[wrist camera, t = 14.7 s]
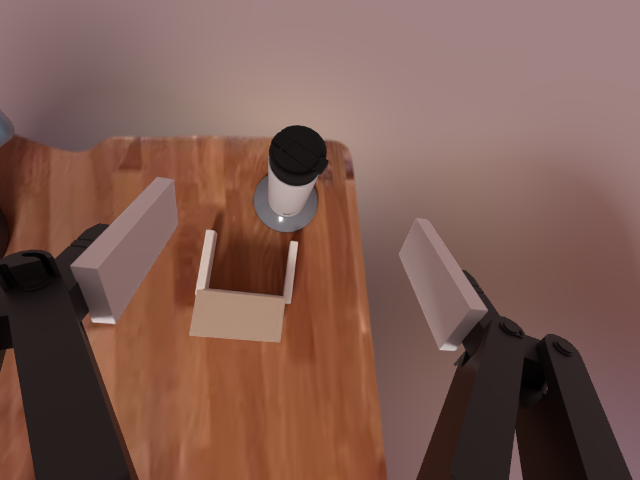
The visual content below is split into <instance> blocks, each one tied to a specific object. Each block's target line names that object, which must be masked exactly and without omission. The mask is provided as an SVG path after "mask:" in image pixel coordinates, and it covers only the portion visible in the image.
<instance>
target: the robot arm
mask: <svg viewBox="0 0 640 480" xmlns="http://www.w3.org/2000/svg"><path fill="white" fill-rule="evenodd" d="M13 136H14V126H13V124H12V123H11V121H10V120H9V119H8V118H7V117H6V115H5V114H4V113H3V112H2V111H0V147H1V146H3V145H4V144H5V143H7V142H8V141H9V140H10V139H12V137H13ZM177 226H178V217H177V207H176V197H175V187H174V179H168V178H161V177H157V178H156V179H155V180H154V181H153V182H152V183H151V184H150V185H149V186H148V187H147V188H146V189H145V190H144V191H143V192H142V193H141V194H140V195H139V196H138V197H137V198H136V199H135V200H134V201H133V202H132V203H131V204H130V205H129V206H128V207H127V208H126V209H125V210H124V211H123V212H122V213H121V214H120V216H119V217H118V218H117V219H116V220H115V221H114V222H113V223H112V224H111V225H108V224H100V223H99V224H97V225H95V226H93V227H91V228H89V229H87V230H85V231H84V232H83V233H82V234H81V235H80V236H79V237H78V239H77V240H75V241H74V242H73V243H71V244H70V246H68V247H67V248H66V249H65V250H64V251H63V252H62V253H61V254H60V255H59V256H57V257H56V258H55V259H54V258H53V256H52V255H51V254H50V253H49V252H46V251H43V250H27V251H21V252H17V253H14V254H11V255H8V256H6V257H4V258H3V259H2V257H3V255H4V253H5V250H6V247H7V243H8V226H7V222H6V219H5V217H4V215H3V213H2V212H1V210H0V371H1V367H2V363H3V360H4V356H5V352H6V349H10V348H14V353H15V359H16V365H17V371H18V377H19V382H20V388H21V394H22V400H23V406H24V412H25V418H26V424H27V430H28V436H29V442H30V448H31V454H32V460H33V465H34V471H35V477H36V480H139V479H138V476H137V474H136V471H135V468H134V465H133V463H132V460H131V457H130V454H129V451H128V449H127V446H126V443H125V440H124V437H123V435H122V432H121V429H120V426H119V423H118V421H117V418H116V415H115V412H114V410H113V407H112V404H111V401H110V398H109V396H108V393H107V390H106V387H105V384H104V382H103V379H102V376H101V373H100V370H99V368H98V365H97V362H96V359H95V356H94V354H93V351H92V348H91V345H90V343H89V340H88V337H87V334H86V331H85V329H84V326H83V324H82V320H83V318H84V317H85V316H86V314H87V313H88V312H89V314H90V317H91V319H92V322H99V323H111V324H116V322H117V321H118V319H119V318H120V316H121V314H122V313H123V311H124V310H125V308H126V307H127V305H128V303H129V302H130V300H131V299H132V297H133V296H134V294H135V292H136V291H137V289H138V288H139V286H140V284H141V283H142V281H143V280H144V278H145V277H146V275H147V273H148V272H149V270H150V269H151V267H152V266H153V264H154V262H155V261H156V259H157V258H158V256H159V254H160V253H161V251H162V250H163V248H164V247H165V245H166V243H167V242H168V240H169V239H170V237H171V236H172V234H173V232H174V231H175V229H176V228H177ZM399 256H400V259H401V261H402V263H403V265H404V268H405V270H406V273H407V275H408V277H409V280H410V282H411V284H412V287H413V289H414V291H415V294H416V296H417V298H418V301H419V303H420V305H421V308H422V310H423V312H424V315H425V317H426V319H427V322H428V324H429V326H430V329H431V331H432V334H433V336H434V338H435V341H436V343H437V345H438V348H439V349H440V350H451V351H455V350H456V349H457V348H458V346H459V345H460V344H461V343H462V344H463V346H464V348H465V349H466V350H465V352H464V353H463V354H462V355H461V357H459V359H458V360H457V361H456V362H455V363H454V365H455V366H456V365H457V364H458V367H457V369H456V372H455V375H454V378H453V380H452V383H451V386H450V389H449V391H448V394H447V397H446V399H445V402H444V405H443V408H442V410H441V413H440V416H439V419H438V421H437V424H436V427H435V430H434V432H433V435H432V438H431V441H430V443H429V446H428V449H427V452H426V454H425V457H424V460H423V463H422V465H421V468H420V471H419V473H418V476H417V479H416V480H509V474H510V465H511V458H512V449H513V441H514V433H515V430H516V436H517V443H518V450H519V456H520V463H521V470H522V476H523V480H632V477H631V475H630V472H629V470H628V468H627V466H626V463H625V460H624V458H623V456H622V453H621V451H620V449H619V446H618V444H617V441H616V439H615V437H614V434H613V432H612V429H611V427H610V424H609V422H608V420H607V417H606V415H605V412H604V410H603V408H602V405H601V403H600V400H599V398H598V396H597V393H596V391H595V388H594V386H593V384H592V382H591V379H590V376H589V374H588V372H587V369H586V367H585V364H584V362H583V360H582V357H581V355H580V354H579V352H578V350H577V349H576V348H575V347H574V346H573V345H572V344H571V343H570V342H568V341H567V340H565V339H563V338H561V337H560V336H557V335H554V334H547V335H546V336H545V337H544V338H543V339H542V340H538V339H536V338H533V337H530V336H527V335H525V333H524V332H523V330H522V329H521V328H520V327H519V326H518V325H517V324H516V323H515V322H513V321H512V320H510V319H508V318H506V317H502V316H500V315H499V314H498V312H497V311H496V309H495V308H494V307H493V305H492V304H491V302H490V301H489V299H488V298H487V296H486V295H485V294H484V292H483V291H482V289H481V288H480V287H479V285H478V283H477V282H476V280H475V279H474V278H473V277H472V276H471V275H470V274H469V273H468V272H467V271H465V270H461V269H460V267H459V266H458V264H457V262H456V261H455V259H454V258H453V256H452V255H451V254H450V252H449V251H448V249H447V247H446V246H445V244H444V243H443V241H442V240H441V238H440V237H439V235H438V234H437V232H436V231H435V229H434V228H433V226H432V225H431V223H430V222H429V220H427V219H420V218H416V219H415V222H414V223H413V226H412V227H411V230H410V232H409V234H408V236H407V238H406V240H405V242H404V244H403V247H402V249H401V251H400V253H399ZM547 387H548V389H547Z"/></svg>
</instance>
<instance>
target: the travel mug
mask: <svg viewBox="0 0 640 480" xmlns="http://www.w3.org/2000/svg"><path fill="white" fill-rule="evenodd" d="M326 153H327V151H326V146H325V143H324V141H323V139H322V138H321V137H320V135H319V134H318V133H317V132H315V131H314V130H312V129H310V128H308V127H305V126H299V125H296V126H289V127H286V128H285V129H283V130H281V132H279V133H277V134H276V135H275V136H274V138H273V139H272V142H271V145H270V149H269V162H268V203H269V206H270V208H271V210H272V211H273V212H274V213H275V214H276V215H278V216H280V217H284V218H290V217H294V216H296V215H297V214H299V213H300V212H301V211H302V209H303V207H304V205H305V203H306V201H307V199H308V197H309V195H310V192H311V190H312V188H313V186H314V184H315V182H316V180H317V178H318V176H319V175H320V174H322V172H323V171H324V170H325V168H326V167H327V164H328V160H327V159H326Z"/></svg>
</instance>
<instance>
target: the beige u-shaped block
mask: <svg viewBox="0 0 640 480" xmlns="http://www.w3.org/2000/svg"><path fill="white" fill-rule="evenodd" d="M217 235H218V234H217V233H216V232H215V231H213V230H206V235H205V241H204V246H203V252H202V258H201V263H200V269H199V275H198V280H197V286H196V292H195V295H196V299H195V305H194V310H193V316H192V322H191V328H190V333H189V336H201V337H214V338H227V339H240V340H254V341H267V342H280V339H281V331H282V323H283V315H284V307H285V304H291V297H292V288H293V280H294V272H295V264H296V256H297V248H298V242H295V241H291V242H290V244H289V251H288V259H287V267H286V275H285V283H284V291H283V296H278V295H268V294H259V293H249V292H239V291H229V290H220V289H210V288H209V282H210V277H211V271H212V265H213V259H214V253H215V247H216V241H217Z"/></svg>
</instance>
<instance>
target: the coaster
mask: <svg viewBox="0 0 640 480" xmlns="http://www.w3.org/2000/svg"><path fill="white" fill-rule="evenodd" d="M254 205H255V209H256V212H257V215H258V216H259V218H260V219H261V221H262V222H263V223H264V224H265V225H266V226H268V227H269V228H271V229H273V230H276V231H279V232H294V231H298V230H300V229H302V228H304V227H305V226H306V225H308V224H309V223H310V221H311V220H312V219H313V217H314V215H315V213H316V210H317V205H318V198H317V194H316V191H315V189H314V187H313V188H312V190H311V192H310V195H309V197H308V199H307V201H306V203H305V205H304V207H303V209H302V211H301V212H300V213H299V214H297V215H296V216H294V217H290V218H284V217H280V216H278V215H276V214H275V213H274V212H273V211H272V210H271V208H270V206H269V203H268V175H267V176H266V177H265V178H263V179H262V180H261V182H260V183H259V184H258V186H257V188H256V191H255V195H254Z"/></svg>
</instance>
